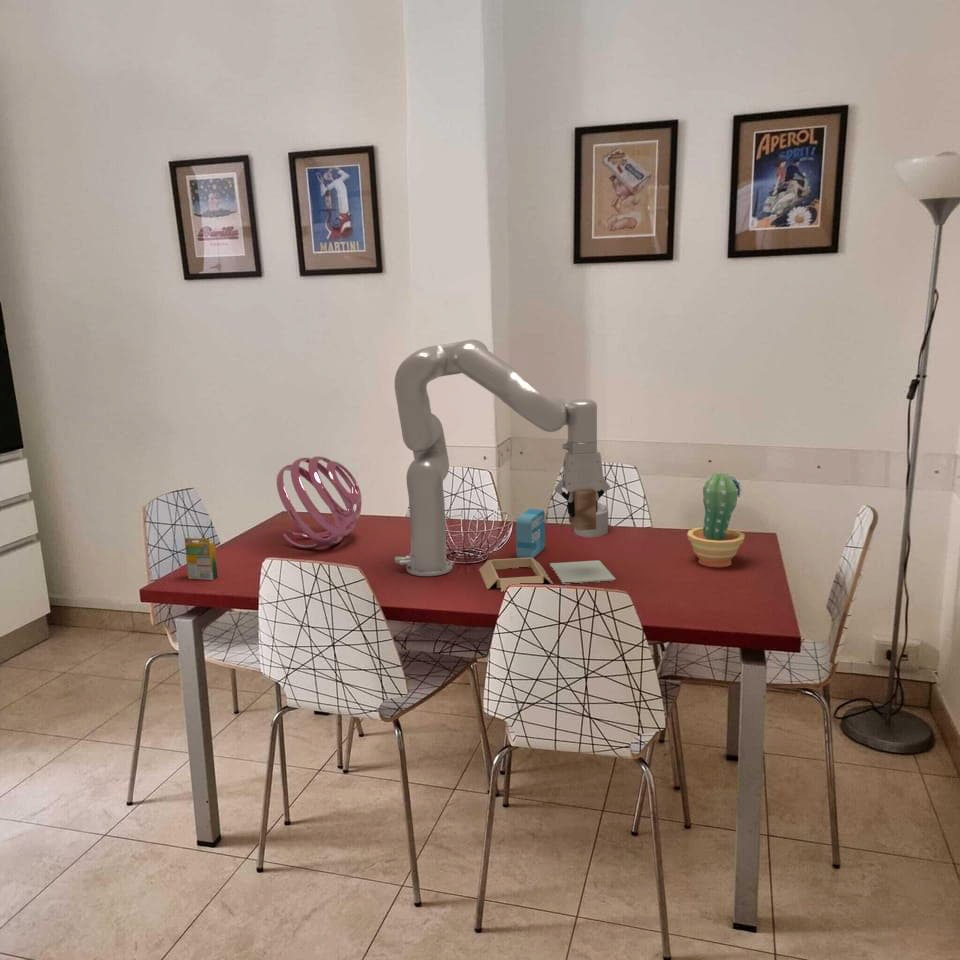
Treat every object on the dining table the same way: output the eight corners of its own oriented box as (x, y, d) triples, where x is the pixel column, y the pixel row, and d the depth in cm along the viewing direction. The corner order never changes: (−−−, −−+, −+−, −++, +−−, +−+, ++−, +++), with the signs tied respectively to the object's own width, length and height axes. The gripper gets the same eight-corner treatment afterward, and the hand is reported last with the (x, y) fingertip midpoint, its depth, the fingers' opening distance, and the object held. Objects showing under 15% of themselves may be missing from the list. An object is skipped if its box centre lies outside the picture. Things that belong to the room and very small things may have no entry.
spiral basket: (233, 486, 259) (304, 435, 252) (283, 488, 285) (348, 442, 279) (277, 569, 253) (350, 519, 247) (323, 563, 280) (391, 518, 273)
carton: (488, 593, 223) (488, 583, 222) (477, 567, 243) (477, 557, 243) (556, 588, 225) (556, 578, 224) (539, 563, 245) (539, 553, 245)
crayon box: (218, 576, 240) (214, 535, 237) (213, 580, 237) (209, 539, 234) (193, 575, 241) (189, 535, 239) (188, 579, 238) (183, 538, 236)
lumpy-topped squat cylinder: (609, 526, 280) (609, 500, 278) (606, 538, 268) (606, 510, 266) (576, 525, 282) (576, 499, 281) (572, 536, 270) (572, 509, 268)
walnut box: (577, 530, 229) (576, 492, 226) (569, 521, 237) (568, 484, 235) (596, 529, 229) (596, 491, 227) (587, 520, 238) (587, 483, 236)
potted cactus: (749, 571, 235) (754, 479, 229) (691, 571, 236) (694, 479, 230) (737, 553, 250) (741, 467, 244) (681, 553, 251) (684, 467, 246)
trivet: (562, 584, 228) (562, 582, 228) (549, 565, 243) (549, 563, 243) (615, 581, 229) (615, 578, 229) (599, 562, 245) (599, 560, 245)
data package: (531, 560, 248) (530, 519, 245) (516, 558, 250) (515, 517, 247) (545, 548, 259) (544, 508, 256) (530, 546, 261) (530, 507, 258)
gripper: (553, 451, 224) (553, 521, 228) (618, 448, 226) (617, 517, 230) (547, 446, 231) (547, 513, 235) (610, 443, 233) (609, 510, 237)
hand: (582, 514), depth 233 cm, fingers closed on walnut box, 5 cm apart
